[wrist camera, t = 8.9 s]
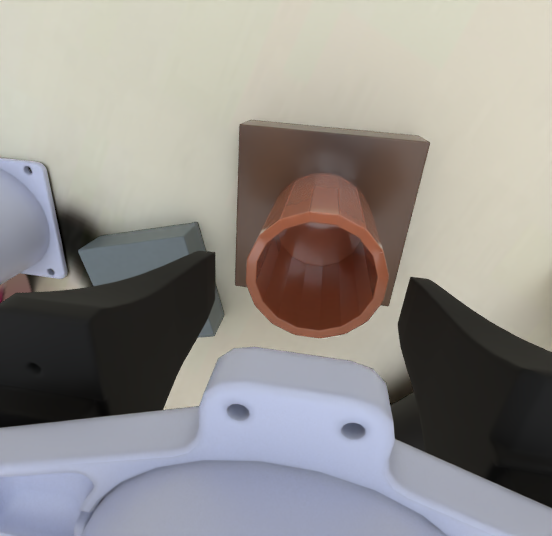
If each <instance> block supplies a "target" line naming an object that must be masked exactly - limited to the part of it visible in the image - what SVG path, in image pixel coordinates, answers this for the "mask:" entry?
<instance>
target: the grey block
mask: <svg viewBox="0 0 552 536" xmlns="http://www.w3.org/2000/svg"><path fill="white" fill-rule="evenodd" d="M196 251H206V250H205V246H204V243H203V239H202V236H201V232H200V229H199V225H198V223H197V222H195V223H188V224H181V225H173V226H166V227H159V228H152V229H145V230H138V231H131V232H124V233H117V234H110V235H103V236H100V237H98V238H96V239H95V240H93V241H92V242H90V243H89V244H87V245H86V246H84V247H82V248H81V249H79V250H78V252H79V254H80V257H81V259H82V261H83V263H84V266H85V268H86V270H87V272H88V275H89V277H90V279H91V281H92V284H93V286H97V285H102V284H107V283H112V282H116V281H120V280H124V279H127V278H131V277H134V276H137V275H140V274H143V273H146V272H148V271H151V270H153V269H156V268H158V267H161V266H164V265H166V264H168V263H170V262H173V261H175V260H177V259H179V258H182V257H184V256H186V255H188V254H191V253H193V252H196ZM223 317H224V312H223V309H222V305H221V302H220V298H219V295H218V291H217V288H216V284H215V301H214V304H213V307H212V310H211V312H210V315H209V317H208V320H207V321H206V323H205V325H204V327H203V329H202V331H201V332H200V334H199V336H198V337H211V336H215V334H216V332H217V330H218V328H219V326H220V323H221V321H222V319H223Z"/></svg>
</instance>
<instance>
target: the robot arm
mask: <svg viewBox="0 0 552 536" xmlns="http://www.w3.org/2000/svg"><path fill="white" fill-rule="evenodd" d="M29 167H30V168H31V170H32V173H31V172H30V171H29ZM52 269H53V270H54V272H53V271H52ZM19 273H22V274H29V275H36V276H44V277H51V278H58V279H62V278H64V277H65V276H67V274H68V271H67V266H66V261H65V256H64V251H63V246H62V242H61V237H60V232H59V227H58V222H57V217H56V212H55V207H54V202H53V198H52V193H51V188H50V183H49V178H48V173H47V169H46V167H45V166H44V165H43V164H42V163H40V162H35V161H26V160H17V159H8V158H0V285H1V284H2V283H4V282H6V281H7V280H9V279H11V278H12V277H14V276H16V275H18V274H19ZM214 301H215V252H207V251H196V252H193V253H191V254H188V255H186V256H184V257H182V258H179V259H177V260H175V261H173V262H170V263H168V264H166V265H164V266H161V267H158V268H156V269H153V270H151V271H148V272H146V273H143V274H140V275H137V276H134V277H131V278H127V279H124V280H120V281H116V282H112V283H107V284H102V285H97V286H92V287H87V288H80V289H72V290H63V291H51V292H30V293H15V294H14V295H12V296H11V297H9V298H8V299H6V300H5V301H3V302H2V303H0V536H552V352H550V351H547V350H545V349H543V348H540V347H538V346H536V345H534V344H532V343H529V342H527V341H525V340H523V339H521V338H519V337H517V336H515V335H513V334H511V333H509V332H508V331H506V330H504V329H502V328H500V327H498V326H497V325H495V324H493V323H492V322H490V321H488V320H487V319H485V318H484V317H482V316H481V315H479V314H477V313H476V312H474V311H473V310H471V309H470V308H469V307H467V306H466V305H464V304H463V303H462V302H460V301H459V300H457V299H456V298H455V297H453V296H452V295H451V294H449V293H448V292H447V291H445V290H444V289H443V288H441V287H440V286H438V285H437V284H435V283H434V282H432V281H431V280H429V279H423V278H415V277H410V281H409V284H408V288H407V292H406V295H405V299H404V303H403V306H402V310H401V314H400V317H399V321H398V331H399V339H400V346H401V350H402V354H403V357H404V361H405V364H406V367H407V371H408V374H409V377H410V381H411V384H412V388H413V391H414V394H415V398H416V402H417V406H418V411H419V416H420V422H421V428H422V434H423V441H424V448H425V452H423V451H421V450H419V449H417V448H414V447H412V446H410V445H408V444H405V443H403V442H401V441H398V440H396V439H395V436H394V423H393V417H392V412H391V406H390V401H389V396H388V390H387V385H386V383H385V382H384V381H383V379H382V378H381V377H380V376H379V375H378V374H377V373H376V372H375V371H374V369H372V368H369V367H366V366H364V365H361V364H358V363H356V362H353V361H348V360H341V359H334V358H328V357H321V356H314V355H307V354H300V353H294V352H287V351H280V350H273V349H266V348H259V347H247V348H234V349H232V350H231V351H229V352H227V353H226V354H224V355H223V356H221V357H220V358H218V360H217V363H216V365H215V368H214V370H213V372H212V375H211V377H210V380H209V382H208V384H207V387H206V389H205V392H204V394H203V397H202V400H201V403H200V406H196V407H187V408H178V409H168V410H163V408H164V406H165V403H166V401H167V398H168V396H169V393H170V391H171V388H172V386H173V384H174V381H175V379H176V377H177V374H178V372H179V370H180V368H181V366H182V364H183V362H184V360H185V358H186V357H187V355H188V353H189V352H190V350H191V348H192V346H193V345H194V343H195V341H196V339H197V338H198V336H199V334H200V332H201V331H202V329H203V327H204V325H205V323H206V321H207V320H208V317H209V315H210V312H211V310H212V307H213V304H214Z"/></svg>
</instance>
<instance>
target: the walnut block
mask: <svg viewBox="0 0 552 536" xmlns="http://www.w3.org/2000/svg"><path fill="white" fill-rule="evenodd" d="M429 145H430V142H428V141H427V140H425V139H423V138H421V137H420V136H416V135H405V134H394V133H384V132H373V131H362V130H352V129H341V128H331V127H320V126H309V125H299V124H288V123H277V122H267V121H256V120H249V121H247V122H244V123H242V124H240V126H239V162H238V197H237V233H236V268H235V285H236V286H243V287H247V285H246V264H247V257H248V255H249V253H250V251H251V249H252V247H253V245H254V243H255V241H256V239H257V237H258V235H259V233H260V231H261V229H262V227H263V225H264V223H265V221H266V219H267V217H268V215H269V213H270V211H271V209H272V207H273V205H274V203H275V201H276V199H277V197H278V195H279V194H280V193H281V192H282V190H283V189H284V188H285V187H286V186H287V185H288V184H290V183H291V182H293V181H294V180H296V179H298V178H300V177H302V176H305V175H308V174H313V173H330V174H335V175H338V176H341V177H343V178H345V179H347V180H349V181H350V182H352V183H353V184H354V185H355V186H356V187H358V189H359V190H360V191H361V192H362V193H363V195H364V196H365V198H366V200H367V202H368V204H369V206H370V209H371V212H372V216H373V219H374V222H375V225H376V228H377V232H378V235H379V238H380V241H381V245H382V248H383V251H384V255H385V259H386V264H387V268H388V273H389V280H388V284H387V288H386V292H385V296H384V300H383V302H382V304H381V305H383V306H389V303H390V299H391V295H392V291H393V287H394V283H395V279H396V276H397V272H398V268H399V264H400V260H401V256H402V252H403V248H404V244H405V240H406V236H407V232H408V228H409V224H410V220H411V216H412V212H413V208H414V204H415V201H416V197H417V193H418V189H419V185H420V181H421V177H422V173H423V169H424V165H425V161H426V157H427V153H428V149H429Z"/></svg>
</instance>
